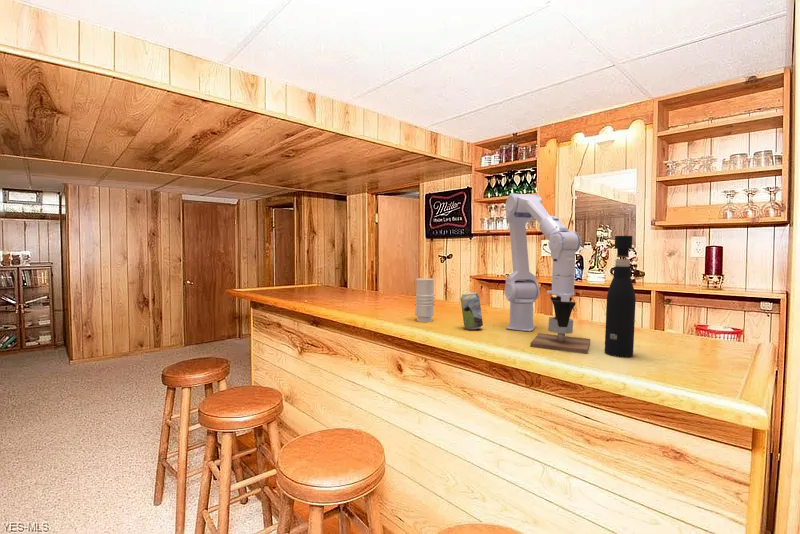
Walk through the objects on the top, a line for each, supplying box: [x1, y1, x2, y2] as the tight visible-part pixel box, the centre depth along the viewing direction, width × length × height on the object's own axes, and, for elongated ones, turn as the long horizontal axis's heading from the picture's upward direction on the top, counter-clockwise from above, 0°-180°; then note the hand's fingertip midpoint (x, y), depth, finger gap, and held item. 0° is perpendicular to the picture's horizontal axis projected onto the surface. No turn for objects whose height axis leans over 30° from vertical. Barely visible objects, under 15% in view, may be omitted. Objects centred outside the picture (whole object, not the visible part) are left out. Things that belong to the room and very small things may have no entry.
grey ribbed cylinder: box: [414, 277, 436, 323], centre depth 142 cm, size 7×7×15 cm
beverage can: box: [460, 291, 484, 330], centre depth 129 cm, size 6×7×12 cm
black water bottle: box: [604, 235, 637, 358], centre depth 100 cm, size 6×6×30 cm
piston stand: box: [529, 332, 591, 355], centre depth 110 cm, size 14×14×5 cm
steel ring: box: [547, 316, 574, 335], centre depth 110 cm, size 6×6×4 cm
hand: (561, 324), depth 110 cm, fingers closed on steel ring, 6 cm apart
